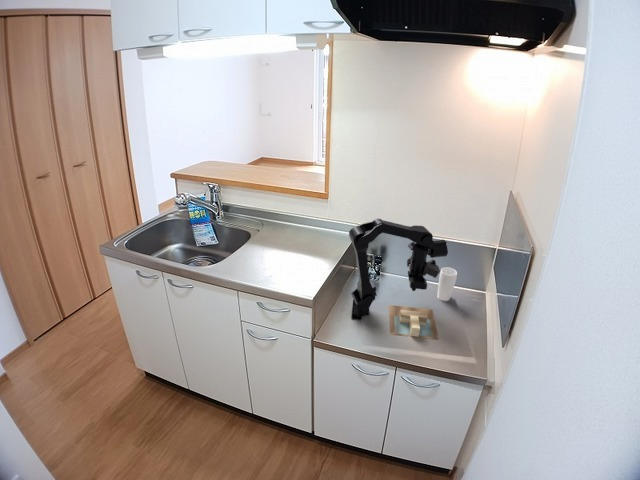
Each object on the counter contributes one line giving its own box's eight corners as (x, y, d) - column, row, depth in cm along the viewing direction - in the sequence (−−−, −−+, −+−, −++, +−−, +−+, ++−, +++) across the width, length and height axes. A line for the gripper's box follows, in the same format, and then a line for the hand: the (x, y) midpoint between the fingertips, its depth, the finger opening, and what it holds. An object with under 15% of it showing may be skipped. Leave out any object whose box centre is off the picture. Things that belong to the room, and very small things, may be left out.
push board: (389, 337, 137) (390, 334, 136) (388, 307, 153) (388, 305, 152) (438, 342, 135) (438, 339, 134) (431, 312, 151) (432, 309, 150)
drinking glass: (451, 305, 155) (458, 276, 148) (435, 303, 156) (441, 274, 149) (449, 296, 161) (456, 268, 154) (434, 294, 162) (440, 266, 155)
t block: (399, 317, 145) (400, 309, 143) (424, 320, 144) (426, 312, 142) (401, 334, 136) (402, 326, 134) (428, 337, 135) (429, 329, 133)
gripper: (444, 272, 131) (437, 306, 139) (436, 248, 148) (430, 279, 155) (413, 269, 133) (407, 303, 140) (409, 245, 149) (404, 277, 156)
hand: (413, 290), depth 148 cm, fingers closed
